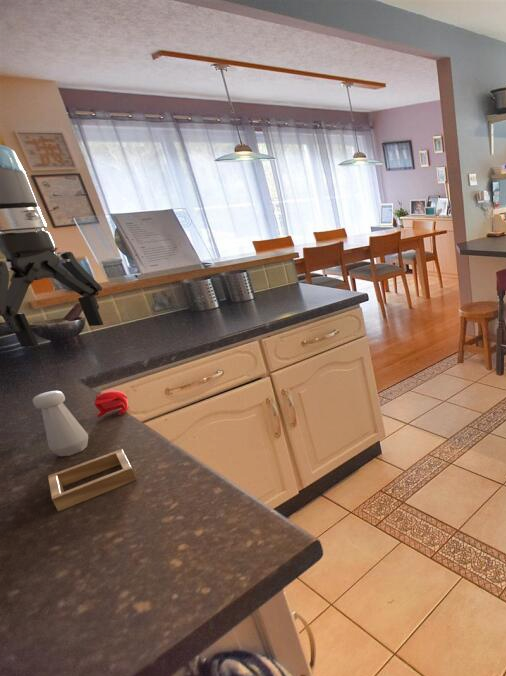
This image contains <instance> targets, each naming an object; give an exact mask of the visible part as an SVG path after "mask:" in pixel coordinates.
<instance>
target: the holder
mask: <svg viewBox="0 0 506 676" xmlns="http://www.w3.org/2000/svg"><path fill="white" fill-rule="evenodd" d="M130 463H131V462H129V459H128V458H127V455H126V454H125V452H124V449H123V448H120V449H118V450H115V451H113V452H109V453H107V454H104V455H101V456H98V457H96V458H92V459H90V460H87V461H85V462H81V463H79V464H76V465H74V466H71V467H68V468H65V469H63V470H60V471H56V472H55V473H52V474H49V475H47V478H48V483H49V484H48V485H49V490H50V496H51V500H52V502H53V505H54V506H55V509H56V510H57V512H59V513H60V512H61V511H63V510H66V509H68V508H71V507H73V506H76V505H78V504H81V503H83V502H86V501H88V500H90V499H93V498H95V497H98V496H100V495H103V494H105V493H108V492H110V491H113V490H115V489H118V488H120V487H123V486H125V485H128V484H130V483H132V482H135V481H137V479H138V478H137V476H136V474H135V472H134V469H133V467H132V465H131V464H130ZM117 466H120V467H121V469H119V470H116V471H114V472H112V473H109V474H106V475H104V476H101V477H98V478H96V479H93V480H91V481H88V482H86V483H83V484H81V485H78V486H75V487H73V488H70V489H68V490H64V487H65V486H68V485H70V484H73V483H75V482H78V481H81V480H83V479H86V478H89V477H91V476H94V475H97V474H99V473H102V472H104V471H106V470H110V469H112V468H114V467H117Z"/></svg>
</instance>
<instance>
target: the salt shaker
mask: <svg viewBox="0 0 506 676" xmlns="http://www.w3.org/2000/svg"><path fill="white" fill-rule="evenodd" d="M65 401H66V397H65V394H64V393H63V392H62V391H60V390H51V391H46V392H43V393H39V394H38V395H36V396H34V397H33V398H32V404H33V406H34V407H35V409H37V410H38V409H39V410H41V414H42V419H43V424H44V429H45V434H46V440H47V446H48V448H49V450H50V451H51V452H53V453H54V454H56V455H57V456H58V457H70V456H73V455H75V454H79V453H81V452H83V451H84V450H85V449H86V448H88V443H89V434H88V433H87V431H86V430H85V429H84V428H83V426H82V425H81V424H80V423H79V422H78V420H77V419H76V417H75V416H74V415H73V414H72V412H71V411H70V410H69V409H68V407H67V406H66V404H64V402H65Z"/></svg>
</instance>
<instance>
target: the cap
mask: <svg viewBox="0 0 506 676" xmlns="http://www.w3.org/2000/svg"><path fill="white" fill-rule="evenodd" d="M94 406H95V408H96V409H97V410H98V412H99V413H97V415H96V416H97V418H101V417H103V416H104V415H106V414H107V413H110V412H112V411H116V410H119V409H120V410H119V412H118V413H117V414H118V415H119V416H123V414H125V413H126V412H127V411H128V410H129V409H130V406H129V403H128V396H127V394H125V393H124V392H122V391H121V390H120V391H119V390H106V391H104V392H101V393H100V394H97V395H96V397H95V399H94Z"/></svg>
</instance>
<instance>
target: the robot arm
mask: <svg viewBox="0 0 506 676" xmlns="http://www.w3.org/2000/svg"><path fill="white" fill-rule="evenodd" d="M19 159H20V158H19V157H18V156H17V154H16V152H15V150H14V149H12V148H11V147H8V146H6V145H3V144H0V253H1V254H2V255H3V256H4V257H5V260H6V261H3V260H1V261H0V317H2V319H3V320H4V322H5V325H6V327H7V329H8V330H9V332H11V333H14V334H15V336H16V338H17V340H18V343H19V345H20V347H21V348H28V347H29V348H30V347H37V346H39V343H38V340H37V339H36V336H35V335H34V334H35V333H34V332H33V330H32V328H31V325H30V324H29V321H28V319H27V317H26V315H25V313H24V312H22V313H21V312H20V313H19V311H20V308H21V307H22V303H23V302H24V299H25V297H26V294H27V293H28V290H29V287H30V285H31V284H33V283H34V281H41V280H43V279H54V280H56V281H58V282H59V283H60V284H62V285H64V286H65V287H67V288H68V289H70V290H72V291H73V292H75V293H77V294H78V295H80V297H77V300H78V302H79V305H80V308H81V309H82V312H83V314H84V317H85V320H86V322H87V324H88V326H89V327H97V326H98V327H99V326H103V325H104V322H103V319H102V317H101V314H100V311H99V310H100V305H99V303H98V300H97V298H96V296H99V294H100V292H101V291H102V290H103V287H102V285H100V284H99V283H98V282H97V281H96V279H95V278H94V277H93V276H92V275H91V274H90V273H89V272H88V271H87V270H86V269H85V268H84V267H83V266H82V265H81V264H80V263H79V262H78V261H77V259H76V257H75V255H74V253H73V252H72V251H62V252H61V251H60V252H56V251H54V250H55V248H56V246H55V243H54V240H53V238H52V236H51V233H50V232H49V231H48V230H44V229H46V228H47V223H46V221H45V219H44V217H43V215H42V212H41V209H40V207H39V204H38V202H37V199H36V197H35V194H34V192H33V189H32V186H31V184H30V181H29V178H28V177H27V174H26V173H27V172H26V171H25V170H24V168H23V166H22V164H21V162H20V160H19ZM59 264H61V265H62V266H60V265H59ZM11 271H12V275H11V277H10V272H11ZM9 281H10V284H9Z"/></svg>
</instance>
